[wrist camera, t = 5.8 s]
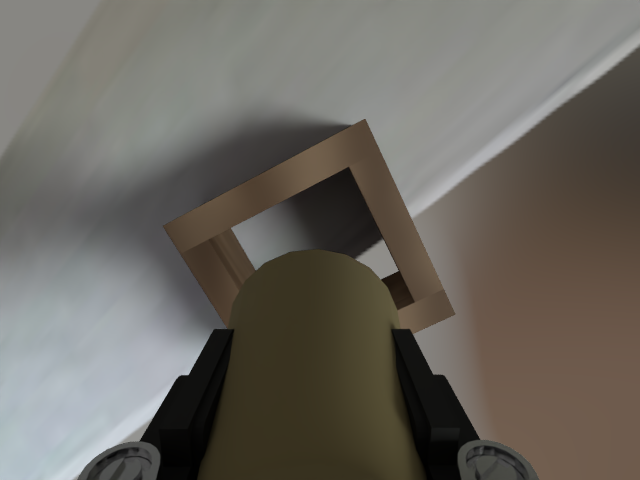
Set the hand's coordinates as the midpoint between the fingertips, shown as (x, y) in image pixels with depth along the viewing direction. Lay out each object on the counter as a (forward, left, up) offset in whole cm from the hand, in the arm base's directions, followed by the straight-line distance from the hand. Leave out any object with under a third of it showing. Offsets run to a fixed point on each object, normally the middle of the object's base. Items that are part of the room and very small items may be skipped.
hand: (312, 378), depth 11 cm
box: (0, 0, -17) cm, 17 cm away
